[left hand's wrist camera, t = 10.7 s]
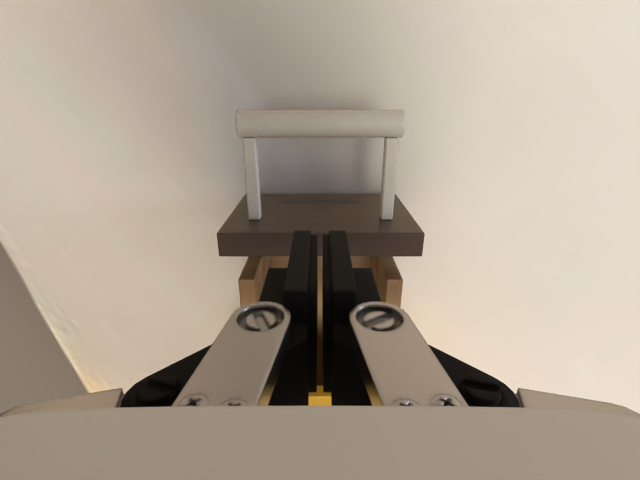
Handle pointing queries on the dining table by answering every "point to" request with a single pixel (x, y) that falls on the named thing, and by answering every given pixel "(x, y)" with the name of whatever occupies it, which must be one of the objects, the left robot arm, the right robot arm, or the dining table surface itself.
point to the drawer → (320, 207)
